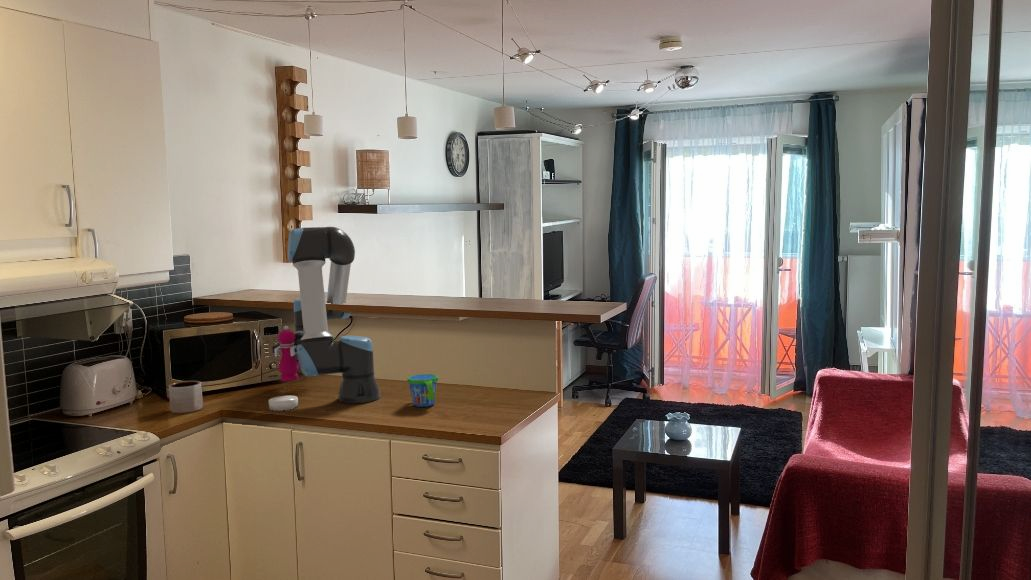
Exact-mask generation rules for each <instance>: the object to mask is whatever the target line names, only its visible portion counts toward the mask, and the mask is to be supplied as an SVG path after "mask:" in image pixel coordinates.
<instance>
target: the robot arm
mask: <svg viewBox="0 0 1031 580" xmlns="http://www.w3.org/2000/svg"><path fill="white" fill-rule="evenodd" d="M355 255H356V250H355V245H354V243H353V240H352V239H351V237H350V236H349V235H348V234H347V233H346V232H345V231H344V230H342V229H340V228H339V227H335V226H326V227H324V226H322V227H321V226H319V227H318V226H317V227H313V226H312V227H301V228H299V227H298V228H292V229H291V230H290V232H289V234H288V240H287V260H288V261H290V262H292V266H293V267H294V268H296V269H297V277H298V286H299V295H300V296H299V298H297V299H295V300H294V301H293V317H294V320H293V321H294V334H295V340H294V341H293V343H294V346H293V347H292V348H291V349H290V353H291V356H293V355H294V356H295V355H296V356H297V362H298V365H299V369H300V372H301V373H302V374H303V375H304V376H306V377H314V376H315V377H319V376H324V375H325V376H326V375H334V374H335V375H336V374H341V382H340V387H339V392H338V394H337V395H338V396H337V397H338V401H339V402H340V403H342V402H343V404H364V403H370V402H374V401H377V400H378V399H381V390H380V389H379V385H378V383H377V380H376V377H375V366H374V365H375V364H374V345H373V340H371V339H370V338H369V337H366V336H361V335H340V337H339V340H335V341H334V336H333V334H331V333H330V332H329V327H328V325H329V324H328V321H332V320H333V321H335V320H342V319H343V320H344V319H348V318H349V317H350V316H351V313H350V314H349V313H344V312H341V311H333V310H326V304H325V302H327V303H331V304H343V303H346V301H348V299H347V296H348V295H347V294H348V287H349V282H350V281H349V280H350V273H351V266H352V263H353V262H354V260H355ZM326 259H329V261H330V265H329V267H330V268H329V276H328V277H329V278H328V284H327V285H328V287H327V293H326V295H327V296H326V295H325V286H324V277H323V276H324V275H323V267H324V265H325V264H326ZM280 344H281V342H280V341H277V342H276V343H275V344H274V345H272V346H271V351H272V354H274V357H275V358H277V357H279V356H280V355H282V349H281V348H280Z"/></svg>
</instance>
